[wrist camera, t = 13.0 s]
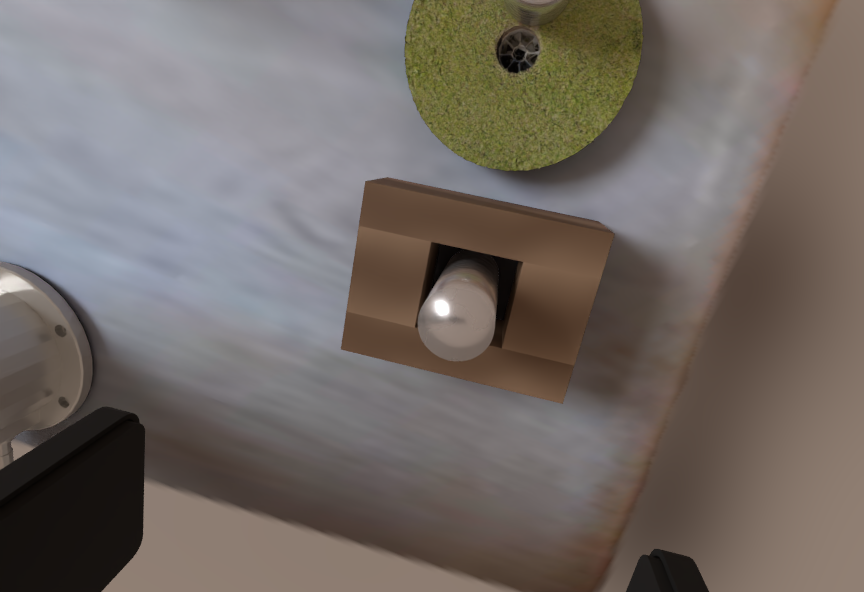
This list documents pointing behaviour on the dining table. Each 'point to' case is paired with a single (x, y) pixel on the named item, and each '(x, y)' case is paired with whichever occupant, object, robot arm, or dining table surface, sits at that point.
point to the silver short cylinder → (535, 10)
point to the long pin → (461, 307)
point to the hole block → (486, 233)
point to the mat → (520, 77)
